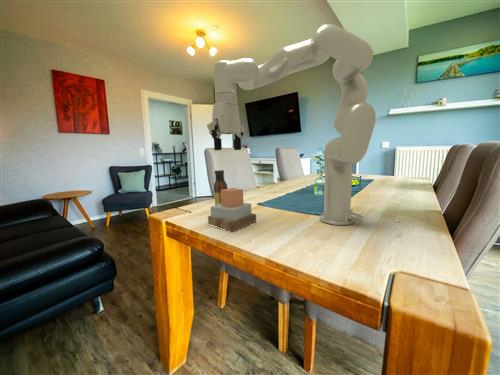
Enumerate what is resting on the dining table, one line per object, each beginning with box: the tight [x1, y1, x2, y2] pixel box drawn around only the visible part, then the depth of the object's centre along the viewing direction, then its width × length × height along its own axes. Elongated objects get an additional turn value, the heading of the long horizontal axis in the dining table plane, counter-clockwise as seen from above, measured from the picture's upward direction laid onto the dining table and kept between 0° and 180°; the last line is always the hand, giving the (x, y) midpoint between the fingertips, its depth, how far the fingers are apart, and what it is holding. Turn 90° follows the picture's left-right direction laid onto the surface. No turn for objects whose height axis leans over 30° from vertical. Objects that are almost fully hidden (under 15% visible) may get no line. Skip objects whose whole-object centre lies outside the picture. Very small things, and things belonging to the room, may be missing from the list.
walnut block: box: [207, 212, 257, 233], centre depth 84 cm, size 13×13×4 cm
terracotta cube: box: [221, 187, 244, 208], centre depth 82 cm, size 6×6×6 cm
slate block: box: [210, 202, 252, 221], centre depth 83 cm, size 11×11×4 cm
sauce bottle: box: [213, 169, 229, 206], centre depth 97 cm, size 6×6×20 cm
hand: (228, 150), depth 79 cm, fingers open, 9 cm apart
